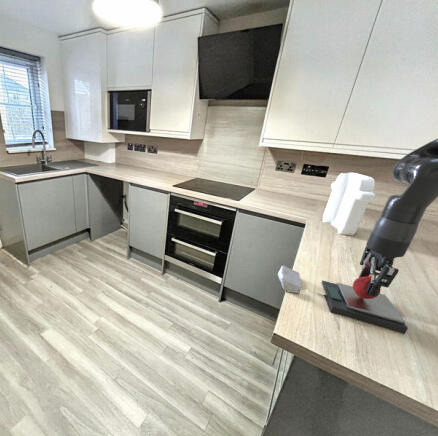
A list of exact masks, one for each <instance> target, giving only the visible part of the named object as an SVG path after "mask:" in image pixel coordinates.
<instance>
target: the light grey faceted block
mask: <svg viewBox="0 0 438 436" xmlns="http://www.w3.org/2000/svg"><path fill="white" fill-rule="evenodd" d="M277 277H278V280H279V282H280V285H281V287H282V289H283V290H284V291H285V292H287V293H292V294H293V293H294V294H299V293H300V292H301V290H302V279H301V275H300V272H299V271H296V270H294V269H291V268H289V267H287V266H285V265H281V267H280V269H279V271H278V272H277Z"/></svg>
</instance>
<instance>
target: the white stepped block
mask: <svg viewBox="0 0 438 436" xmlns="http://www.w3.org/2000/svg"><path fill="white" fill-rule="evenodd" d="M375 185H376V182H375V179H374V178H373V177H372V176H369V175H365V174H360V173H358V172H341V173H340V174H338V175H337V177H336V180H335V181H333V182H332V183H331V185H330V188H331V192H330V195H329V199H328V200H327V203H326V206H325V209H324V212H323V216H322V223H326V224H330V225H331V226H332V227H334V228H336V229H337V234H339V235H343V236H354V235H355V234H356V232H357V231H358V229H359V227H360V224H361V222H362V220H363V217H364V215H365V212H366V210H367V207H368V205H369V202H372V201H374V200H375V197H376V194H375V193H374V190H375Z"/></svg>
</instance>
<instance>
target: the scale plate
mask: <svg viewBox="0 0 438 436" xmlns="http://www.w3.org/2000/svg"><path fill="white" fill-rule="evenodd" d="M335 284H336V286H337V288H338V290H339V292H340V294H341V296H342V299H343V301H344V303H345V305H346V307H347V308H348V309H351V310H355V311H358V312H362V313H365V314H369V315H372V316H376V317H379V318H383V319H386V320H390V321H393V322H397V323H400V324H404V323H405V324H406V320H405V319H404V317H403V316H402V315H401V314H400V312H399V311H398V310H397V309H396V307H395V306H394V304H393V303H392V301H390V300H389V299H390V298H388V297H387V295H386V294H383V293H380V294H379V295H378V296H377V297H375V298H373V299H361V298H360V297H359V296H358V295H357V294H356V293H355V292H354V290H353V285H348V284H344V283H341V282H336V283H335Z"/></svg>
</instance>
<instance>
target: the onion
mask: <svg viewBox="0 0 438 436" xmlns="http://www.w3.org/2000/svg"><path fill="white" fill-rule="evenodd" d="M371 277H372V274H371V275H369V276H367V277H360V278H359V277H358V278H355V280H354V281H353V282H352V286H353V290H354V292H355V293H356V294H357V295H358V296H359V297H360V298H361V299H373V298H375V297H377V296H378V295H379V294H381V290H382V289H381V288H380V290H379V292H378V294H377V296H371V295H367V293H366V290H367V288H368V285H369V283H370V282H371Z"/></svg>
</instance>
